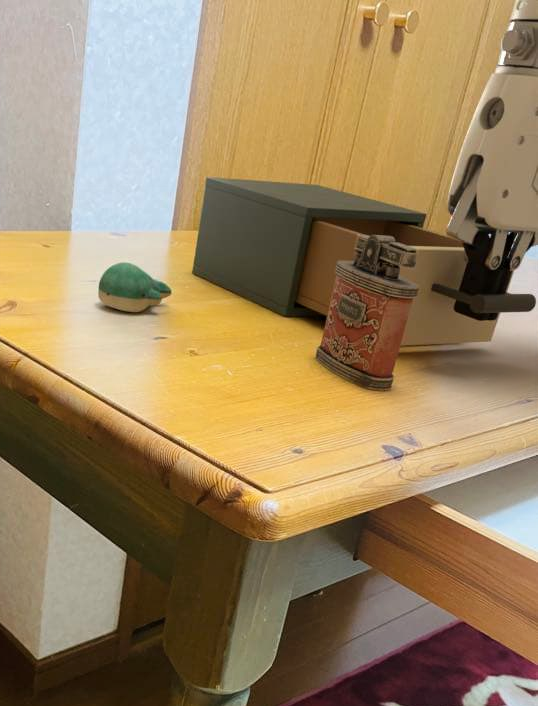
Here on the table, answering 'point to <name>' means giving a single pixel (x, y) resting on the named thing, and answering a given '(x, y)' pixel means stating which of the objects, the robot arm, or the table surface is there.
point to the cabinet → (272, 235)
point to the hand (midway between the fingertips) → (474, 315)
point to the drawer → (429, 273)
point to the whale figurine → (130, 288)
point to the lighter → (369, 312)
